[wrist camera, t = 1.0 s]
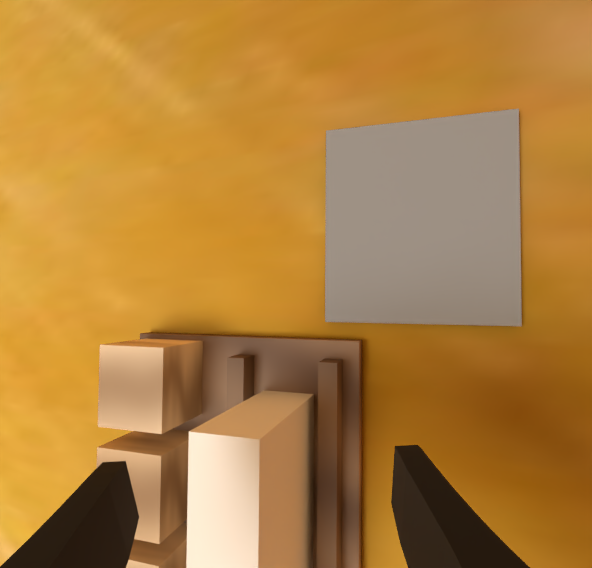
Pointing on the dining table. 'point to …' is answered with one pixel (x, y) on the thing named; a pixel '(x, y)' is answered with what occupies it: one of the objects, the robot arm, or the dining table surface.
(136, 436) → the block
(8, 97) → the dining table surface
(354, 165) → the mat
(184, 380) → the offcut
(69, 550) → the robot arm
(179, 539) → the offcut
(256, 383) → the rack
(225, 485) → the cream rectangular block
